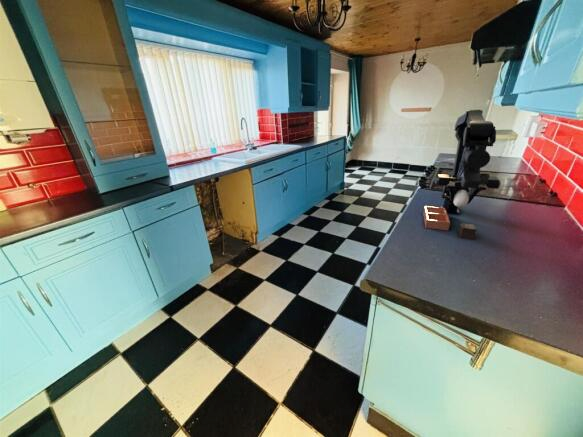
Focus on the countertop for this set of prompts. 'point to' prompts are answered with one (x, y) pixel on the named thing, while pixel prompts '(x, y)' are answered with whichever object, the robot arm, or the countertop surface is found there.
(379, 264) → the countertop surface
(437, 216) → the tray
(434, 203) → the countertop surface
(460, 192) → the egg
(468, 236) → the walnut block
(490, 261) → the countertop surface
